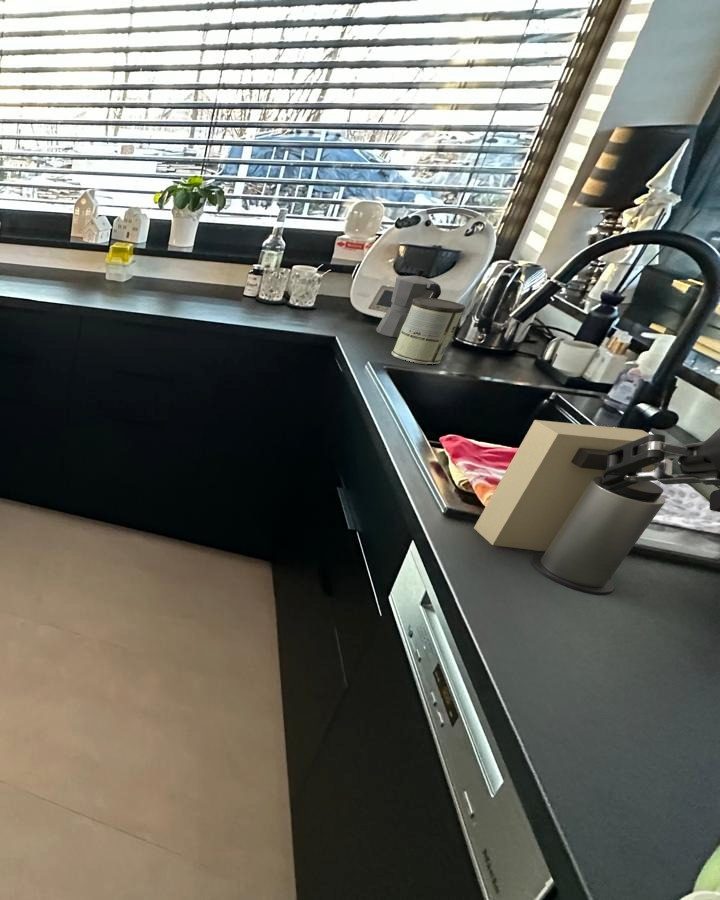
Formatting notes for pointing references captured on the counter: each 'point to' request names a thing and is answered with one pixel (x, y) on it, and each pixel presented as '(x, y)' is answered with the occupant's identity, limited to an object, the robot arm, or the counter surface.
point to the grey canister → (602, 531)
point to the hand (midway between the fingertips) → (659, 492)
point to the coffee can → (427, 330)
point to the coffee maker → (549, 487)
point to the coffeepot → (406, 301)
